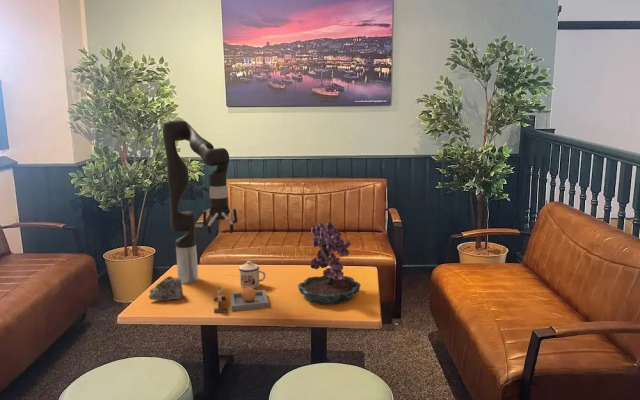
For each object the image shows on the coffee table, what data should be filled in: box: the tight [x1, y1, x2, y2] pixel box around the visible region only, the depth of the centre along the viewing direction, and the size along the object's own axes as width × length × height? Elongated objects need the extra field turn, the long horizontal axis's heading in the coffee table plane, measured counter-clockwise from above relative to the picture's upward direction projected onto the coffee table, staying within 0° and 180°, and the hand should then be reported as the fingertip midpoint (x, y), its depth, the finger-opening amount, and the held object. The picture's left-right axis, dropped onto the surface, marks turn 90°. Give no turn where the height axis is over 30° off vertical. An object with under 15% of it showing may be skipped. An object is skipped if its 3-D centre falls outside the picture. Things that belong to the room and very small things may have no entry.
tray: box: [229, 289, 270, 312], centre depth 229 cm, size 15×15×2 cm
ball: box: [241, 287, 256, 302], centre depth 229 cm, size 6×6×6 cm
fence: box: [213, 286, 228, 314], centre depth 227 cm, size 16×5×5 cm, turn 11°
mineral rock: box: [148, 276, 184, 301], centre depth 235 cm, size 13×11×10 cm
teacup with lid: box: [238, 260, 266, 290], centre depth 248 cm, size 12×9×12 cm
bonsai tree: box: [297, 221, 361, 306], centre depth 234 cm, size 35×27×33 cm
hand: (221, 233), depth 232 cm, fingers open, 8 cm apart
